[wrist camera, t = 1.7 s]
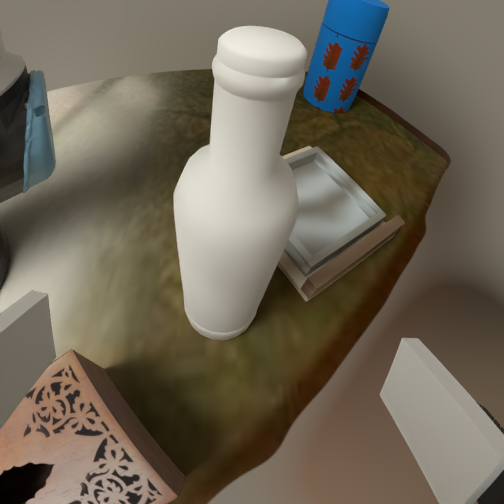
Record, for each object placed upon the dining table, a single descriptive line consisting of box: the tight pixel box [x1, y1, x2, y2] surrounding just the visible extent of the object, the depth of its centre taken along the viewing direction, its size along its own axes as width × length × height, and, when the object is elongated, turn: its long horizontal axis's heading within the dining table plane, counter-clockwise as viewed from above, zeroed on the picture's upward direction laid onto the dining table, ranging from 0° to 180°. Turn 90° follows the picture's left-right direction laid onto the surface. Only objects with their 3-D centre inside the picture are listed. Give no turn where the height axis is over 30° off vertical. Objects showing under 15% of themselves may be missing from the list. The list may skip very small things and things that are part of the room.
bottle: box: [173, 26, 307, 340], centre depth 24 cm, size 8×8×30 cm
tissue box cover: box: [0, 349, 185, 504], centre depth 19 cm, size 26×14×10 cm, turn 131°
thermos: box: [303, 0, 389, 113], centre depth 51 cm, size 11×11×25 cm
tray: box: [277, 146, 405, 302], centre depth 43 cm, size 20×18×4 cm
